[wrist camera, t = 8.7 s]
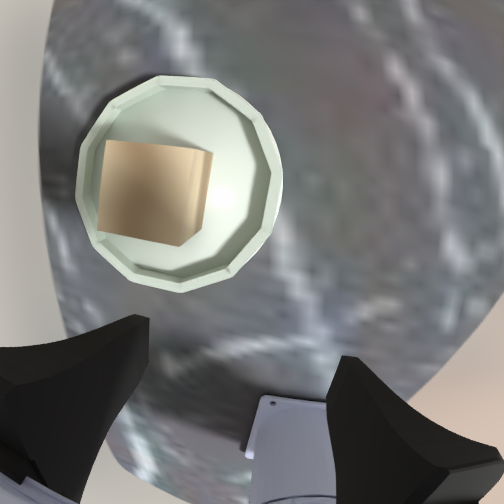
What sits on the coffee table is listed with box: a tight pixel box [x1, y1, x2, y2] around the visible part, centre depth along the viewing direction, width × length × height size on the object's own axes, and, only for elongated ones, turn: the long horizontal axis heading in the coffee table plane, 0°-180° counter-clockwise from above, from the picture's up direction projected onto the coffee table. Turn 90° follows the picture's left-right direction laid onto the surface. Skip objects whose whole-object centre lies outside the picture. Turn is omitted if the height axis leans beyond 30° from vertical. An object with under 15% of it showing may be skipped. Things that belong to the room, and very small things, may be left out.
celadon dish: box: [75, 76, 283, 293], centre depth 18 cm, size 13×13×2 cm
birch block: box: [97, 140, 214, 247], centre depth 16 cm, size 4×4×4 cm
